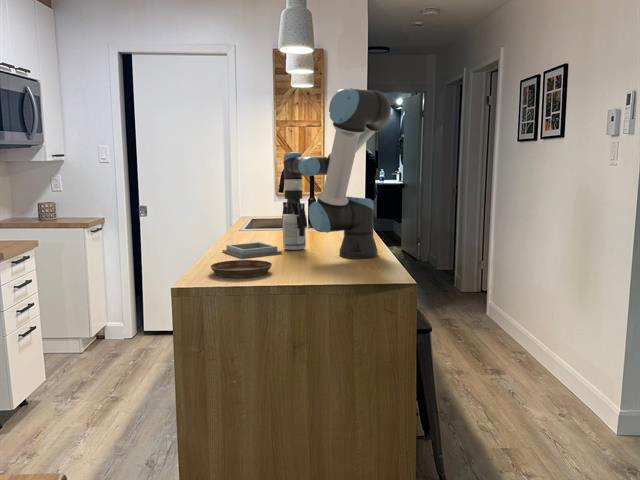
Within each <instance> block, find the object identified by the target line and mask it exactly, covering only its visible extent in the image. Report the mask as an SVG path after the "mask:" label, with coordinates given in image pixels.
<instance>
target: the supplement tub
mask: <svg viewBox="0 0 640 480" xmlns="http://www.w3.org/2000/svg"><path fill="white" fill-rule="evenodd" d="M282 214H283V213H282ZM297 216H299V215H295V214H283V219H282V218H281V223H282V222H283V224H282V243H283V249H285V250H289V251H297V250H299V251H300V250H303V249H305V248H306V227H305V228H304V244H297V227H298V224H297Z"/></svg>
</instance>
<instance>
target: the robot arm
mask: <svg viewBox="0 0 640 480" xmlns="http://www.w3.org/2000/svg"><path fill="white" fill-rule="evenodd" d="M328 105H329V107H328V112H329V114H328V115H329V118H330V120H331V121H332V126H333V127H334V129H335V133H334V138H333V142H332V148H331V152H330V153H329V154H328V155H327V156H303V155H302V152H298V151H296V152H294V151H293V152H285V153H284V154H283V184H284V185H283V188H284V192H283V194H284V199H285V200H287V201H283V202H282V217H281V220H282V219H283V214H295V215H299V216H297V224H298V227H297V244H304V228H305V229H306V228H307V227H308V222H307V216H306V210H305V203H304V202H302V203H301V200H302V199H303V177H304V176H305V177H312V176H326V177H325V180H324V186H323V191H321V192H320V193H318V195H317V200H316V201H314V202H311V203H310V205H309V207H308V218H309V221H310V224H311V226H312V228H313V229H314V230H315V231H316V232H317V233H327V234H328V233H331V232H341V231H343V238H342V241H341V245H340V247H339V256H340V257H342V258H347V259H370V258H376V257H378V254H379V253H378V252H379V251H378V248H377V243H376V242H375V238H374V215H375V214H374V211H375V209H374V201H373V200H372V199H371V198H364V197H354V196H347V193H348V187H349V183H350V179H351V175H352V170H353V165H354V161H355V157H356V153H357V152H358V151H360V149H361V148H362V147H363V146H364V145H365V144H366V142H367V141H368V140H369V139H370V138H371V137H372V136H373V135H374V134H375V133H377V132H380V131H382V129H383V128H384V127H385V126H386V125H387V123H388V122H389V120H390V116H391V114H392V107H391V101H390V100H389V99H388V97H387V96H386V95H385V93H383V92H381V91H378V90H375V89H374V90H373V89H371V90H367V89H358V88H352V87H351V88H341V89H339V90H338V91H336V92H335V93H334V95H333V96H332V97H331V100H330V102H329V104H328ZM281 225H283V222H282V221H281Z"/></svg>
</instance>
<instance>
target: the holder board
mask: <svg viewBox="0 0 640 480" xmlns="http://www.w3.org/2000/svg"><path fill="white" fill-rule="evenodd" d="M225 246H226V249H222V253H224V254H226V255H230V256H232V257H236V258H239V259H240V260H244V259H250V258H258V257H259V258H260V257H267V256H268V257H269V256H275V255H276V256H277V255H282V254H283V252H282V251H281V250H279V249H278V246H277V245H274V244H273V245H272V244H269V243H264V242H263V241H262V242H261V241H256V242H247V243H245V242H244V243H236V244H227V245H225Z"/></svg>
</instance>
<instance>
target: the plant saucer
mask: <svg viewBox="0 0 640 480" xmlns="http://www.w3.org/2000/svg"><path fill="white" fill-rule="evenodd" d="M272 265H273V263H272V262H270V261H266V260H260V259H259V260H257V259H238V260H237V259H235V260H225V261H219V262H216V263H215V262H214V263H212V264H211V265H210V268H211V270H212V272H214V274H216V275H217V276H219V277H221V278H230V279H231V278H232V279H242V278H243V279H244V278H245V279H247V278H255V277H259V276H263V275H265V274H266V273H267V272H268V271H269V270H270V269H271V267H272Z"/></svg>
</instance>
